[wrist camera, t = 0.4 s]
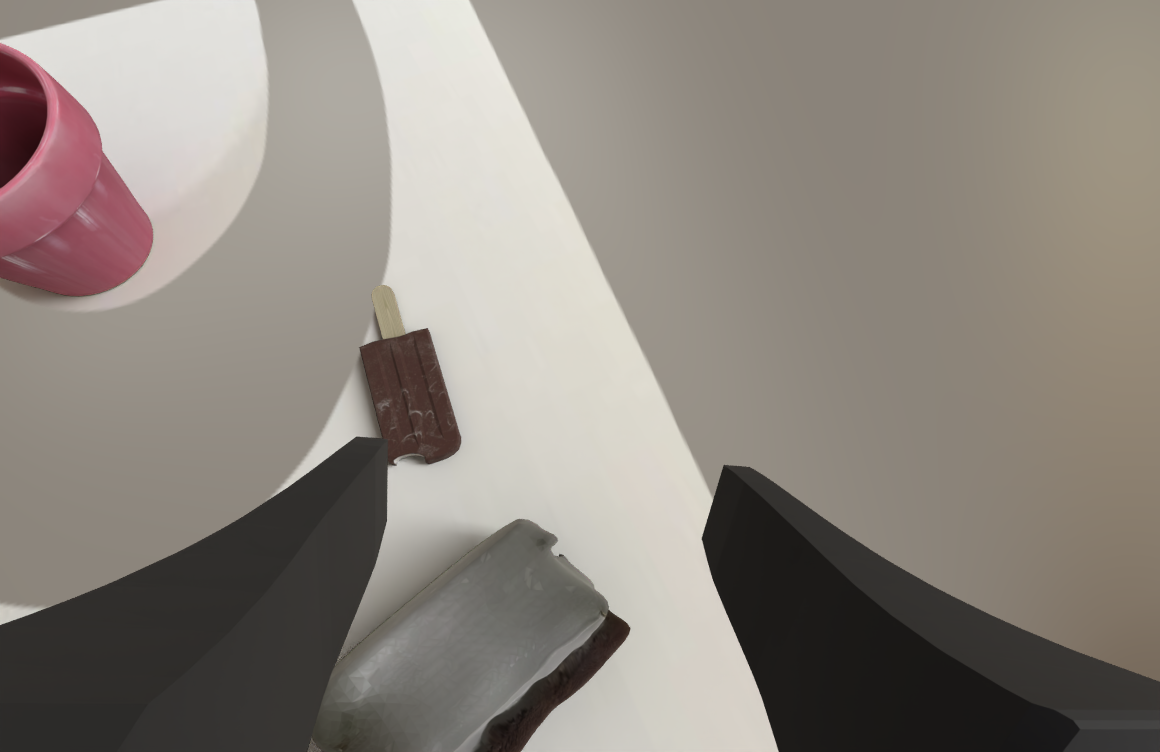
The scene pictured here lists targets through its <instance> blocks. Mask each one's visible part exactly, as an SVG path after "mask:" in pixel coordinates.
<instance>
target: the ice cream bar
mask: <svg viewBox="0 0 1160 752" xmlns="http://www.w3.org/2000/svg"><path fill="white" fill-rule="evenodd" d="M371 296H372V301H373V305H374V308H375V312H376V316H377V319H378V323H379V327H380V330H381V334H382V338H383V340H378V341H374V342H371V343H369V344H366V345H364V346H362V347H359V348H360V352H361V356H362V359H363V363H364V367H365V371H366V375H367V379H368V383H369V387H370V391H371V395H372V399H373V402H374V406H375V410H376V414H377V418H378V422H379V426H380V430H381V434H382V438H383V439H388V461H389V463H391V464H392V465H397V462H398V461H399V460H400V459H402V458H405V457H408V456H414V455H418V456H423V457H425V461H426V462H427V463H428V464H432V463H435V462H438V461H441V460H444V459H447V458H449V457H450V456H452V455H454V454H455V453H456V452H457V451H458V450H459V447H460V445H461V436H460V433H459V429H458V426H457V423H456V419H455V416H454V412H453V409H452V406H451V402H450V399H449V396H448V392H447V389H446V386H445V382H444V379H443V376H442V372H441V369H440V365H439V362H438V359H437V355H436V352H435V349H434V345H433V342H432V339H431V335H430V332H429V330H428V328H426V329H422V330H417V331H413V332H410V333H408V334H405V330H404V327H403V323H402V320H401V316H400V313H399V309H398V306H397V302H396V299H395V295H394V293H393V291H392V289H391V288H390V287H388V286H386V285H381V286H378V287H376V288H375V289H374V290H373V291H372V294H371Z"/></svg>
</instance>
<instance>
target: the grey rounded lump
mask: <svg viewBox="0 0 1160 752" xmlns="http://www.w3.org/2000/svg"><path fill="white" fill-rule="evenodd" d="M557 541H558V539H557V537H556V536H555V535H554V534H551V533H549V532H547V531H545V530H544V529H542V528H541V527H539V526H538V525H537V524H535V523H533V522H532V521H530V520H525V519H517V520H515V521H513V522H512V523H510V524H508V525H506V526H505V527H503V528H502V529H500V530H499V531H497V532H496V533H494V534H493V535H491V536H490V537H488V538H487V539H486V540H484V541H483V542H482V543H480V544H479V545H478V546H477V547H475V548H474V549H473V550H471V551H470V552H469V553H468V554H466V555H465V556H464V557H463V558H461V559H460V560H459V561H458V562H456V563H455V564H454V565H453V566H451V567H450V568H449V569H448V570H446V571H445V572H444V573H443V574H442V575H440V576H439V577H438V578H437V579H436V580H434V581H433V582H432V583H431V584H430V585H428V586H427V587H426V588H425V589H423V590H422V591H421V592H420V593H419V594H417V595H416V596H415V597H414V598H413V599H411V600H410V601H409V602H408V603H407V604H405V605H404V606H403V607H402V608H401V609H399V610H398V611H397V612H396V613H395V614H393V615H392V616H391V617H390V618H389V619H387V620H386V621H385V622H384V623H383V624H382V625H380V626H379V627H378V628H377V629H376V630H375V631H373V632H372V633H371V634H370V635H369V636H368V637H367V638H365V639H364V640H363V641H362V642H361V643H360V644H359V645H358V646H356V647H355V648H354V649H353V650H352V651H351V652H350V653H349V654H348V655H347V656H346V657H344V658H343V659H342V660H341V661H340V662H339V663H338V664H337V665H336V666H335V667H334V668H333V671H332V674H331V677H330V679H329V682H328V685H327V688H326V690H325V693H324V696H323V700H322V703H321V706H320V710H319V713H318V716H317V720H316V723H315V726H314V730H313V733H312V738H313V740H314V742H315V744H316V745H317V746H318V747H319V748H320V749H321V750H322V752H521V750H522V749H523V748H524V746H525V745H526V743H527V742H528V740H529V739H530V737H531V736H532V735H533V733H534V732H535V731H536V729H537V728H538V727H539V726H540V724H541V723H542V722H543V721H544V720H545V718H546V717H547V716H548V715H549V714H550V712H551V711H552V710H553V709H554V708H556V707H557V706H558V705H559V704H561V703H562V702H564V701H565V700H567V699H568V698H569V697H570V696H572V695H573V694H574V693H575V692H576V691H578V690H579V689H580V688H581V687H582V686H584V685H585V684H586V683H587V682H588V681H589V680H590V679H591V678H592V677H593V676H594V674H595V673H596V672H597V671H598V670H599V669H600V668H601V667H602V666H603V665H604V663H605V662H606V661H607V660H608V659H609V658H610V657H611V656H612V655H613V653H614V652H615V651H616V650H617V649H618V648H619V647H620V646H621V645H622V643H623V642H624V641H625V640H626V638H627V636H628V635H629V632H630V627H629V625H628V624H627V623H626V622H625V621H624V620H622V619H621V618H619V617H617V616H616V615H615V614H613V613H612V612H611V611H610V610H609V609H608V608H609V606H608V602H607V600H606V599H605V598H604V597H603V596H602V595H601V594H600V593H599V592H597V591H596V590H595V589H594V584H593V583H592V581H591V580H590V579H589V578H588V577H587V576H585V575H584V574H583V573H582V572H580V571H579V570H578V569H577V568H575V567H574V566H573V565H572V564H571V563H570V562H569V561H568V560H567V559H566V557H565V556H564V555H561V554H559V557H558V556H554V555H553V553H552V551H551V548H552V546H554V545H555V544H556V543H557Z"/></svg>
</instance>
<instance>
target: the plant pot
mask: <svg viewBox="0 0 1160 752" xmlns="http://www.w3.org/2000/svg"><path fill="white" fill-rule="evenodd" d="M152 242H153V229H152V225H151V222H150V220H149V218H148V216H147V214H146V213H145V212H144V210H143V209H142V208H141V206H140V205H139V204H138V202H137V201H136V199H135V198H134V196H133V195H132V193H131V192H130V190H129V189H128V187H127V186H126V184H125V183H124V181H123V180H122V179H121V177H120V176H119V174H118V173H117V171H116V170H115V168H114V167H113V166H112V164H111V163H110V161H109V160H108V159H107V157H106V156H105V154H104V153H103V151H102V143H101V138H100V134H99V131H98V129H97V126H96V124H95V123H94V121H93V119H92V117H91V116H90V115H89V113H88V112H87V111H86V109H85V108H84V107H83V106H82V105H81V104H80V103H79V102H78V101H77V100H76V99H75V98H74V97H73V96H72V95H71V94H70V93H69V92H67V91H66V90H65V89H64V88H63V87H62V86H61V85H60V84H59V83H58V82H57V81H56V80H55V79H54V78H53V77H52V76H50V75H49V74H48V73H47V72H46V71H45V70H44V69H43V68H42V67H41V66H40V65H38V64H37V63H36V62H35V61H33V60H32V59H31V58H29V57H28V56H26V55H25V54H23V53H21V52H19V51H18V50H15V49H13V48H11V47H9V46H6V45H4V44H1V43H0V278H4V279H7V280H11V281H14V282H18V283H21V284H25V285H29V286H33V287H37V288H40V289H44V290H47V291H51V292H54V293H58V294H62V295H68V296H85V295H92V294H97V293H100V292H104V291H106V290H109V289H111V288H114V287H115V286H117V285H119V284H121V283H123V282H124V281H126V280H127V279H128V278H130V277H131V276H132V275H133V274H134V273H135V272H137V271H138V270H139V268H140V267H141V266H142V264H143V263H144V262H145V260H146V259H147V257H148V255H149V253H150V250H151V247H152Z"/></svg>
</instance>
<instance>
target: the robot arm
mask: <svg viewBox="0 0 1160 752" xmlns="http://www.w3.org/2000/svg"><path fill="white" fill-rule="evenodd" d="M387 470H388V439H380V438H367V437H355V438H354V439H353V440H351V441H350V442H349V443H347V444H346V445H344V446H343V447H342V448H340V449H339V450H338V451H336V452H335V453H334V454H333V455H331V456H330V457H329V458H327V459H326V460H325V461H323V462H322V463H321V464H319V465H318V466H317V467H315V468H314V469H313V470H311V471H310V472H309V473H307V474H306V475H304V476H303V477H302V478H300V479H299V480H297V481H296V482H295V483H293V484H292V485H291V486H289V487H288V488H286V489H285V490H283V491H282V492H280V493H279V494H277V495H276V496H274V497H273V498H271V499H269V500H268V501H266V502H265V503H263V504H262V505H260V506H259V507H257V508H256V509H254V510H253V511H251V512H249V513H248V514H246V515H245V516H243V517H241V518H240V519H238V520H236V521H235V522H233V523H231V524H230V525H228V526H226V527H224V528H223V529H221V530H219V531H217V532H215V533H213V534H212V535H210V536H208V537H206V538H204V539H202V540H201V541H199V542H197V543H195V544H193V545H191V546H189V547H187V548H185V549H183V550H181V551H179V552H177V553H175V554H173V555H171V556H169V557H167V558H164V559H162V560H160V561H158V562H156V563H153V564H151V565H149V566H147V567H145V568H143V569H140V570H138V571H136V572H134V573H132V574H129V575H127V576H125V577H123V578H121V579H119V580H117V581H114V582H112V583H109V584H107V585H105V586H102V587H100V588H97V589H95V590H92V591H90V592H88V593H85V594H83V595H80V596H77V597H75V598H72V599H70V600H67V601H65V602H62V603H59V604H57V605H54V606H51V607H49V608H46V609H43V610H41V611H38V612H36V613H33V614H30V615H28V616H25V617H22V618H19V619H16V620H13V621H11V622H8V623H5V624H2V625H0V752H307V750H308V746H309V743H310V740H311V736H312V733H313V730H314V726H315V723H316V720H317V716H318V713H319V710H320V706H321V703H322V700H323V696H324V693H325V690H326V688H327V685H328V682H329V679H330V677H331V674H332V671H333V668H334V666H335V663H336V661H337V658H338V656H339V654H340V651H341V649H342V646H343V644H344V641H345V639H346V636H347V634H348V631H349V629H350V626H351V624H352V622H353V619H354V617H355V614H356V612H357V609H358V607H359V604H360V602H361V599H362V597H363V594H364V592H365V589H366V587H367V584H368V582H369V579H370V577H371V574H372V572H373V569H374V567H375V564H376V560H377V557H378V553H379V549H380V546H381V542H382V538H383V534H384V530H385V526H386V522H387ZM702 541H703V545H704V549H705V553H706V557H707V561H708V565H709V568H710V572H711V575H712V579H713V581H714V584H715V586H716V589H717V591H718V594H719V596H720V599H721V601H722V603H723V606H724V608H725V611H726V613H727V615H728V618H729V620H730V622H731V625H732V627H733V629H734V632H735V634H736V636H737V639H738V641H739V643H740V646H741V648H742V650H743V653H744V655H745V657H746V660H747V662H748V664H749V667H750V669H751V671H752V674H753V676H754V679H755V681H756V684H757V686H758V689H759V692H760V694H761V697H762V700H763V703H764V706H765V709H766V712H767V716H768V719H769V722H770V725H771V728H772V731H773V735H774V738H775V741H776V744H777V747H778V751H779V752H1160V682H1159V681H1156V680H1153V679H1151V678H1148V677H1145V676H1142V675H1140V674H1137V673H1134V672H1131V671H1128V670H1126V669H1123V668H1120V667H1118V666H1115V665H1112V664H1109V663H1106V662H1104V661H1101V660H1098V659H1096V658H1093V657H1090V656H1087V655H1084V654H1082V653H1079V652H1076V651H1074V650H1071V649H1069V648H1066V647H1064V646H1061V645H1059V644H1056V643H1054V642H1052V641H1049V640H1047V639H1045V638H1042V637H1040V636H1037V635H1035V634H1033V633H1030V632H1028V631H1025V630H1023V629H1021V628H1018V627H1016V626H1014V625H1012V624H1010V623H1007V622H1005V621H1003V620H1001V619H998V618H996V617H994V616H992V615H989V614H988V613H986V612H984V611H981V610H979V609H977V608H975V607H973V606H971V605H969V604H967V603H965V602H963V601H961V600H959V599H957V598H955V597H953V596H951V595H949V594H947V593H945V592H943V591H941V590H939V589H937V588H935V587H933V586H931V585H930V584H928V583H926V582H924V581H922V580H921V579H919V578H917V577H916V576H914V575H912V574H910V573H909V572H907V571H905V570H903V569H902V568H900V567H898V566H896V565H894V564H893V563H891V562H889V561H888V560H886V559H884V558H883V557H881V556H879V555H878V554H876V553H875V552H873V551H872V550H870V549H869V548H867V547H865V546H864V545H863V544H861V543H859V542H858V541H856V540H855V539H853V538H852V537H850V536H849V535H847V534H846V533H844V532H843V531H841V530H840V529H838V528H837V527H836V526H834V525H833V524H831V523H830V522H828V521H827V520H826V519H824V518H823V517H821V516H820V515H818V514H817V513H816V512H814V511H813V510H811V509H810V508H809V507H807V506H806V505H804V504H803V503H802V502H800V501H799V500H798V499H796V498H795V497H793V496H792V495H791V494H789V493H788V492H786V491H785V490H784V489H782V488H781V487H780V486H778V485H777V484H775V483H774V482H772V481H771V480H770V479H768V478H767V477H765V476H763V475H762V474H760V473H759V472H757V471H756V470H754V469H752V468H750V467H742V466H729V465H724V466H723V470H722V473H721V476H720V479H719V483H718V486H717V489H716V493H715V496H714V499H713V503H712V506H711V509H710V513H709V516H708V519H707V523H706V526H705V529H704V533H703V536H702Z"/></svg>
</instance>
